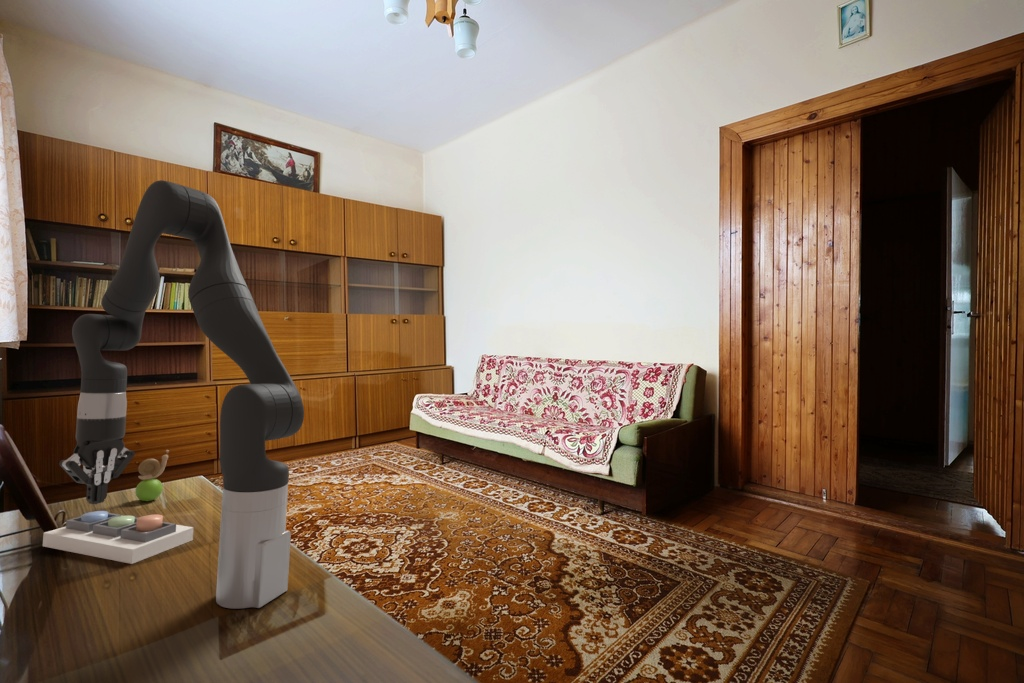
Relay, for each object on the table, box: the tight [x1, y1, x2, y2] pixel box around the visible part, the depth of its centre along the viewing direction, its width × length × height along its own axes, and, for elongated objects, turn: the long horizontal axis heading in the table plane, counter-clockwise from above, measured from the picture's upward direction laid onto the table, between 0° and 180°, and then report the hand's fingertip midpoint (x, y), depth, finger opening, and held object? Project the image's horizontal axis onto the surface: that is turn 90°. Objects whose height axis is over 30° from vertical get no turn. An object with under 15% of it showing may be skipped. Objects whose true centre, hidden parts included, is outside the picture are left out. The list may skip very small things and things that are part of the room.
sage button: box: [108, 515, 136, 528], centre depth 94 cm, size 4×4×2 cm
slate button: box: [80, 510, 109, 523], centre depth 96 cm, size 4×4×2 cm
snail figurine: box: [135, 449, 170, 502], centre depth 121 cm, size 5×6×12 cm
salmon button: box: [136, 514, 164, 532], centre depth 92 cm, size 4×4×2 cm
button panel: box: [42, 512, 194, 565], centre depth 94 cm, size 22×12×4 cm, turn 75°
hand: (96, 502), depth 96 cm, fingers closed
